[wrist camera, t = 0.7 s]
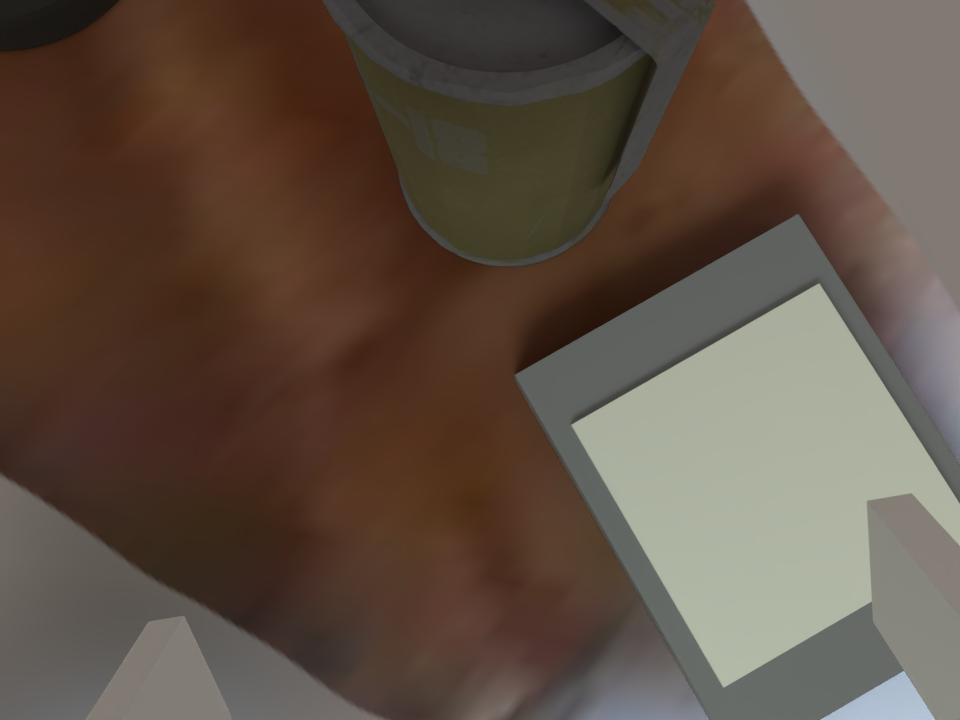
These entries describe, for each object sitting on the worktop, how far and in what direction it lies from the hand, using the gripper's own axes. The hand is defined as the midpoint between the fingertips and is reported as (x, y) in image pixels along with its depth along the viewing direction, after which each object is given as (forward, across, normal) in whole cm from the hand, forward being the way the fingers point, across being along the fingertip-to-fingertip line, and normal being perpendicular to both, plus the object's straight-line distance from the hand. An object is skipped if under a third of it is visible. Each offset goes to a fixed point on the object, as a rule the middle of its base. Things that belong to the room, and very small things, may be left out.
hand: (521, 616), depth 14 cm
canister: (+25, +1, +5) cm, 26 cm away
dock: (+18, +9, -10) cm, 22 cm away
